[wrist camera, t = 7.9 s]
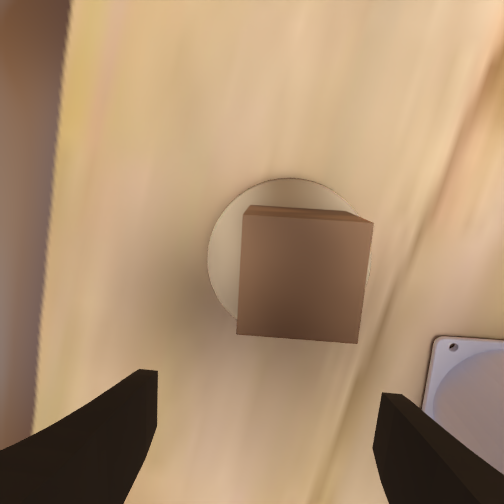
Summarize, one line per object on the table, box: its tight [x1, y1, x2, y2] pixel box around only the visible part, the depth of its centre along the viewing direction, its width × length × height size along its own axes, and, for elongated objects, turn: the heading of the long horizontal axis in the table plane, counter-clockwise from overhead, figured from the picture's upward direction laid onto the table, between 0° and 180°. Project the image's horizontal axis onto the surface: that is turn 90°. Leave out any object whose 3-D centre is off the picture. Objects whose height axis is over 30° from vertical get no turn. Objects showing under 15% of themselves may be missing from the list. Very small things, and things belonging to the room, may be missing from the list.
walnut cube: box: [236, 205, 374, 344], centre depth 14 cm, size 4×4×4 cm
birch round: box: [207, 178, 371, 320], centre depth 18 cm, size 8×8×4 cm
